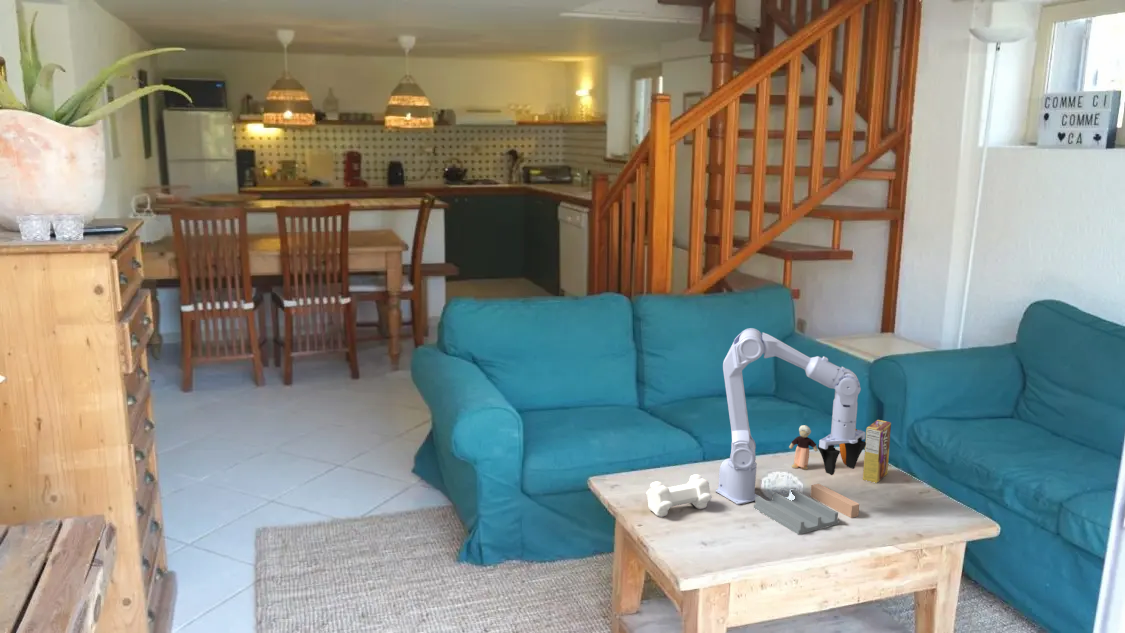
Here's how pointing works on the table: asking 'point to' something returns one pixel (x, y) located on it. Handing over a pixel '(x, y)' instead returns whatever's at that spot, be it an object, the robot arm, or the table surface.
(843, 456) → the carrot
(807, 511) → the rack
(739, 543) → the table surface
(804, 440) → the grandmother figurine
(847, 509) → the clay strip
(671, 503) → the white bone
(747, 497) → the robot arm
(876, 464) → the candy box
